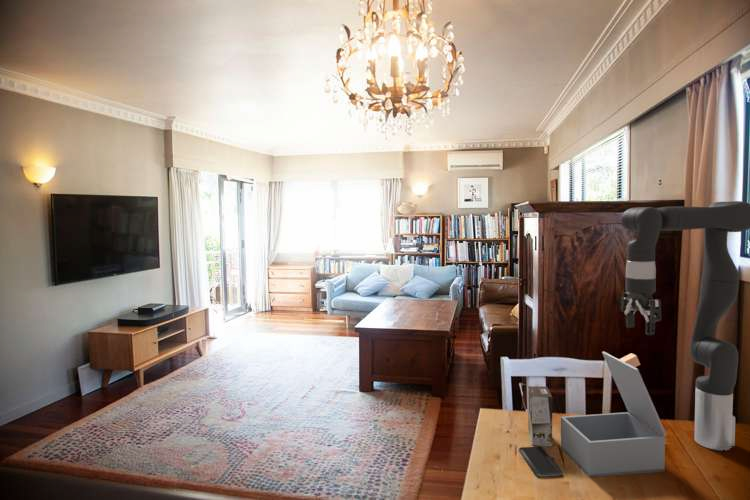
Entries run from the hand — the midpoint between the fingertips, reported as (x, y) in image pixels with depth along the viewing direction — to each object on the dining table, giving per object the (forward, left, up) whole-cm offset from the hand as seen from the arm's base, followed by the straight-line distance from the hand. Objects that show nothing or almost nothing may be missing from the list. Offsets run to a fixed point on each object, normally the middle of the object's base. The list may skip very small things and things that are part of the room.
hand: (639, 330), depth 131 cm
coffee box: (+24, -13, -38) cm, 47 cm away
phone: (+30, 0, -39) cm, 49 cm away
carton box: (+9, +1, -38) cm, 39 cm away
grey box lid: (+3, +1, -18) cm, 18 cm away
